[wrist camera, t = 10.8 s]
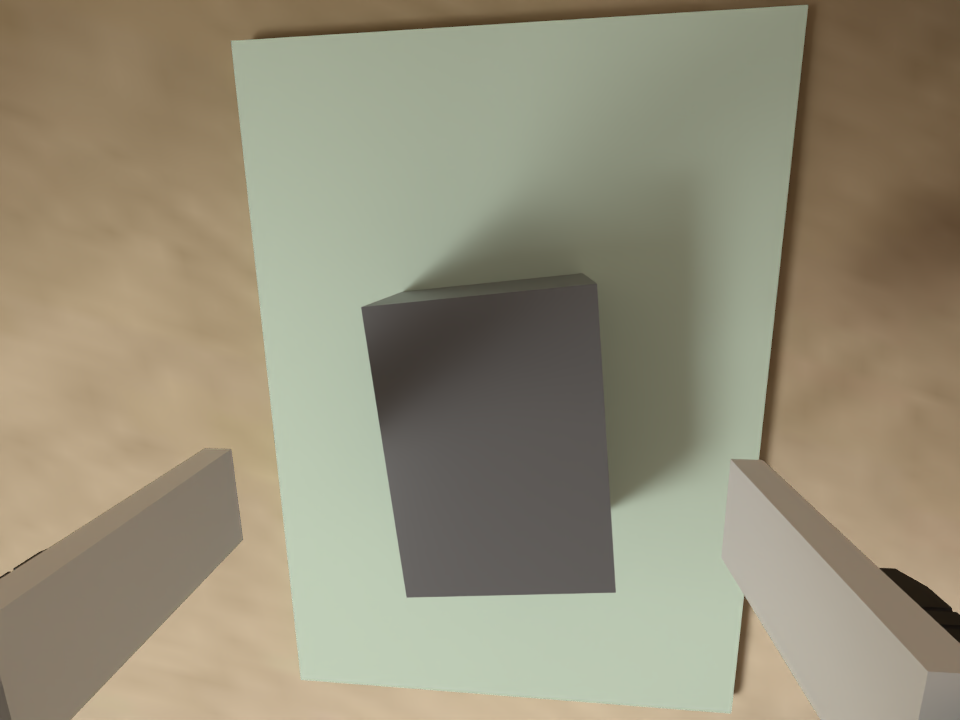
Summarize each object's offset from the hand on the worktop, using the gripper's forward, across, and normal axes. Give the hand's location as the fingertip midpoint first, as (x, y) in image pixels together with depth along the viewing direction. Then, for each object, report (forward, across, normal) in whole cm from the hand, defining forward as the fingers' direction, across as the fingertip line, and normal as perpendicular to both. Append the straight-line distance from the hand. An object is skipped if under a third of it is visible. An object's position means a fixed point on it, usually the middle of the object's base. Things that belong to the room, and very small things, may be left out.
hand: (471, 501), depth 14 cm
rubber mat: (+8, 0, 0) cm, 9 cm away
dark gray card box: (+8, 0, 0) cm, 8 cm away
